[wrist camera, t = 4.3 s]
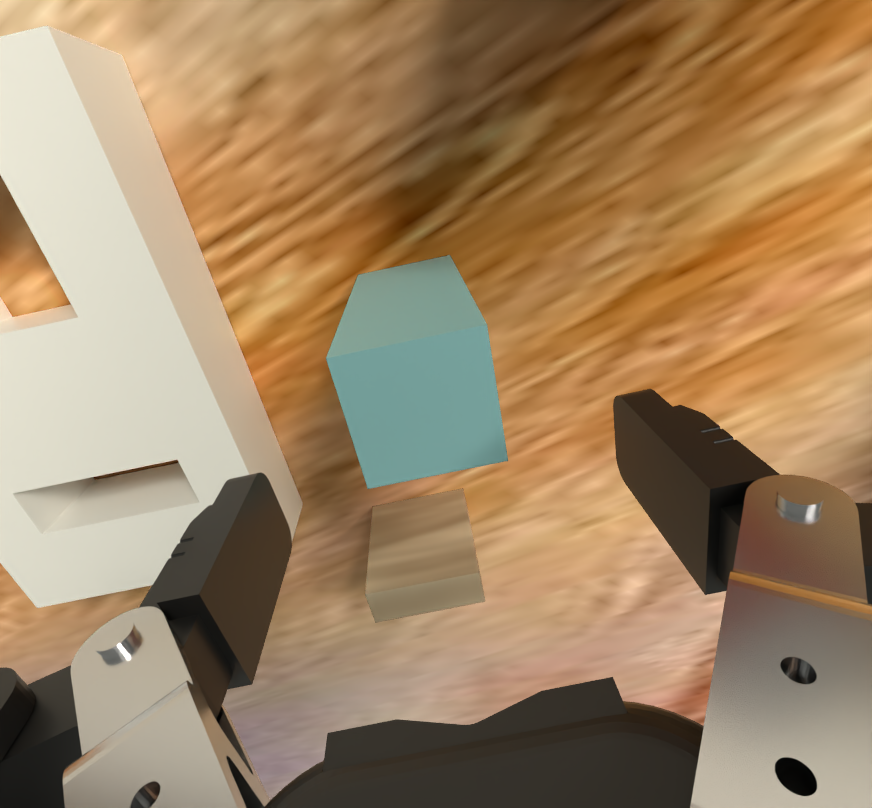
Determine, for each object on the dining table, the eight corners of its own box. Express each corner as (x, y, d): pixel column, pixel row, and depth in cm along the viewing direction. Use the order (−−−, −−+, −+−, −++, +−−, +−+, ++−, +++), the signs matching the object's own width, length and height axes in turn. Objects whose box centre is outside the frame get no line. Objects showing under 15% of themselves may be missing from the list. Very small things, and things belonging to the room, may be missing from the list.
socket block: (-202, 129, 17) (-359, 121, 14) (121, 54, 17) (47, 25, 13) (86, 547, 26) (37, 608, 23) (303, 503, 26) (287, 558, 22)
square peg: (358, 274, 21) (325, 358, 12) (449, 255, 21) (486, 324, 12) (381, 360, 23) (367, 488, 14) (465, 342, 22) (508, 460, 14)
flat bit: (372, 506, 26) (365, 594, 21) (463, 488, 26) (479, 572, 21) (380, 531, 27) (375, 622, 22) (468, 514, 27) (485, 601, 22)
